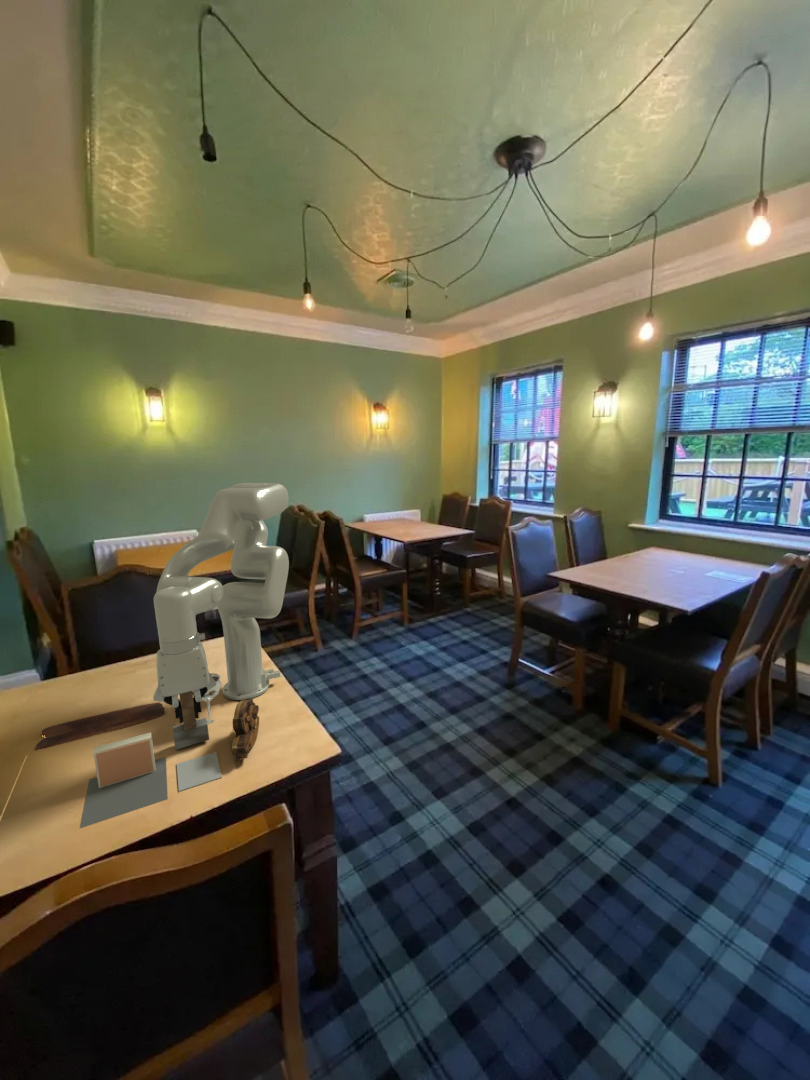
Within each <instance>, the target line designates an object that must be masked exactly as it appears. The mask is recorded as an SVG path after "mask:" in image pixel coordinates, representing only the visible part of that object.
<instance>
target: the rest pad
mask: <svg viewBox="0 0 810 1080" xmlns="http://www.w3.org/2000/svg"><path fill="white" fill-rule="evenodd" d="M176 772H177V773H176V774H177V787H178V788H177V789H178V793H180V792H183V791H187V790H189V789H193V788H195V787H198V786H201V785H205V784H208V783H210V782H211V783H212V782H213V781H217V780H219V779H222V778H223V775H222V772H221V766H220V763H219V757H218V753H217V751H215V752H211V753H208V754H205V755H202V756H198V757H195V758H192V759H188V760H185V761H182V762H178V763H176Z"/></svg>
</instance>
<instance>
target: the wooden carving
mask: <svg viewBox="0 0 810 1080" xmlns="http://www.w3.org/2000/svg"><path fill="white" fill-rule="evenodd" d="M259 709H260V707H259V705H258V704H257V705H256V702H254V700H253V698H251V697H250V698H243V699H242V700H239V702H238V703H237V704H236V706H235V708H234V713H233V714H234V715H233V718H232V729H233V731H234V734H235V735H234V737H233V740H232V746H231V752H232V754H233V755H234V757H235V760H236V761H242V760H243V759H248V756H249V751H250V749H253V747H254V746H255V744H256V741H257V738H258V733H259V727H260V726H259V725H260V717H259V715H258V713H259Z"/></svg>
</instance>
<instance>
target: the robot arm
mask: <svg viewBox="0 0 810 1080" xmlns="http://www.w3.org/2000/svg"><path fill="white" fill-rule="evenodd" d="M289 498H290V496H289V492H288V489H287V488H286V486H284V485H282V484H281V483H278V482H277V483H274V482H271V483H270V482H242V483H236V484H233V485H232V486H230V487H227V488H223V489H220V490H218V491H217V492H216V493H215V495H214V497H213V499H212V501H211V504H210V506H209V509H208V510H207V511H208V512H207V514H206V515H205V519H204V520H203V523H202V525H201V528H200V530H199V532H198V535H197V536H195V537H194V538H192V539H191V540H189V541H188V542H187V543H185V544H184V545H183V546H182V547H181V548H179V549H178V550H177V551H176V552H175V553H174V554H173V555H172V556H171V557H170V558H169V559H168V561H167V563H166V564H165V566H164V569H163V571H162V573H161V575H160V578H159V580H158V583H157V587H156V593H155V594H154V596H153V608H154V613H155V621H156V628H157V635H158V642H159V643H158V644H159V648H160V649H158V650H157V651H156V663H155V664H156V678H157V687H156V688H155V691H154V693H153V696H152V697H153V699H152V700H153V701H155V702H159V703H162V702H164V703H165V704H167V705H169V706H172V708H173V709H174V714H175V715H174V716H175V719H176V720H177V719H179V723H180V724H183V715H182V707H181V703H180V698H179V694H182V693H186V692H190V691H194V696H193V700H194V711H195V718H196V720H198V719H200V717H199V713H202V705H201V702H202V701H201V698H202V697H203V696H204V695H205V694H206V692H207V691H208V690H210V689H211V688H213V687H214V686H215V685H216V681H215V680H214V678H213V677H212V676H211V675H210V671H209V666H208V660H207V655H206V653H205V647H204V645H203V642H202V640H205V639H206V634H205V632H202V633H201V632H198V628H197V627H198V626H197V620H196V617H197V615H199V614H202V613H205V612H208V611H211V610H213V609H214V608H216V607H217V610H218V613H219V617H220V620H221V624H222V631H223V632H222V633H223V641H224V652H225V653H224V654H225V663H226V675H227V682H226V683H225V684H224V686H223V688H222V694H223V696H224V697H225V698H226V699H229V700H234V701H242V699H243V698H250V697H251V698H252V699H254V698H256V697H259V696H261V695H262V694H264V693H265V692H267V690H268V689H269V688H268V687H270V680H271V679H272V680H273V679H278V678H280V677H281V672H280V670H274V668H271V669H266V670H265V669H264V668H263V658H262V657H263V656H262V655H263V654H262V642H261V630H260V626H259V624H258V622H257V620H256V619H273V618H276V617H277V616H278V615H279V614H280V613H281V610H282V608H283V602H284V599H285V592H286V586H287V582H288V576H289V568H290V566H289V565H290V560H289V556H288V553H287V551H286V550H285V549H284V548H283V547H281V546H277V545H267V543H268V538H269V537H268V536H269V530H268V527H267V525H266V523H265V522H264V521H265V520H269V519H271V518H273V517H276V516H277V515H280V514H282V513H283V512H285V510H286V509H287V507H288V504H289V501H290V499H289ZM230 550H233V551H232V555H231V560H230V571H231V574H232V575H233V576H235V578H239V579H246V580H247V579H248V580H265V581H264V582H253V581H251V582H250V581H249V582H246V581H233V582H228V583H226V584H222V583H221V582H220V580H217V579H216V578H212V577H207V576H206V577H203V576H202V577H201V576H199V577H198V576H188V575H189V574H190V572H191V571H192V570H193V569H195V568H196V566H198V565H200V564H202V563H203V562H205V561H208V560H210V559H212V558H215V557H219V556H220V555H223V554H225V553H228V552H229V551H230Z"/></svg>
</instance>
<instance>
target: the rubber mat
mask: <svg viewBox="0 0 810 1080" xmlns="http://www.w3.org/2000/svg"><path fill="white" fill-rule="evenodd" d="M155 765H156V771H154V772H151V773H148V774H144V775H141V776H138V777H134V778H131V779H128V780H124V781H121V782H118V783H114V784H111V785H108V786H105V787H101V788H99V785H98V779H97V776H95V777H93V778H89V780H88V783H87V789H86V795H85V800H84V804H83V809H82V814H81V816H82V817H81V821H80V826H79V829H82V828H86V827H88V826H91V825H94V824H97V823H100V822H103V821H106V820H108V819H113V818H115V817H118V816H121V815H124V814H127V813H130V812H133V811H134V812H135V811H137V810H139V809H143V808H145V807H148V806H151V805H154V804H157V803H160V802H163V801H167V800H168V799H169V797H168V776H167V757H166V756H163V757H161V758H157V759H155Z"/></svg>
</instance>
